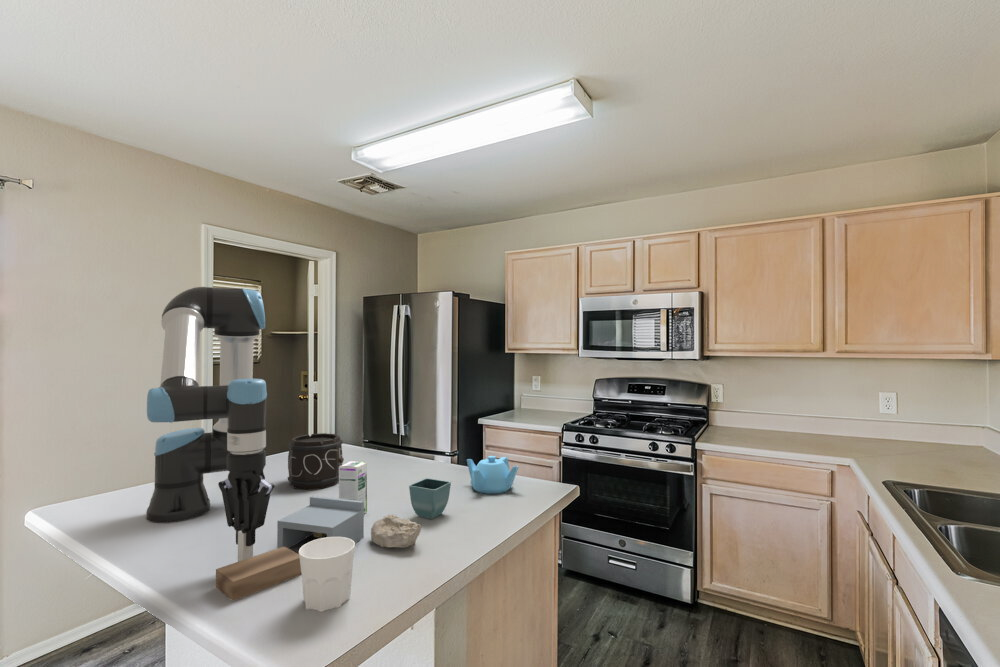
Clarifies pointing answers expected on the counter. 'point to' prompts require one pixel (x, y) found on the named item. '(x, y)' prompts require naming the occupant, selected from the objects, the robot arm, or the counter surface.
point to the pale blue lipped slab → (322, 521)
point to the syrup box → (353, 482)
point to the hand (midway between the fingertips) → (245, 559)
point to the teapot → (491, 475)
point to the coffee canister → (314, 461)
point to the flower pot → (429, 497)
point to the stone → (394, 532)
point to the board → (257, 573)
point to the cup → (326, 572)
